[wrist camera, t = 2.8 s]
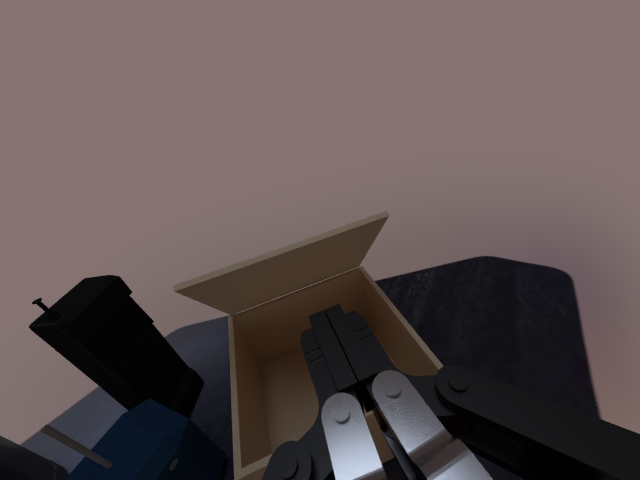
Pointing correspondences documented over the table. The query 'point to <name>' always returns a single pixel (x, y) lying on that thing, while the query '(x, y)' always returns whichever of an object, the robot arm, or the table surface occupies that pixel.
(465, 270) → the table surface
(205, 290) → the carton flap
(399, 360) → the kraft carton
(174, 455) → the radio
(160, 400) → the portable radio
